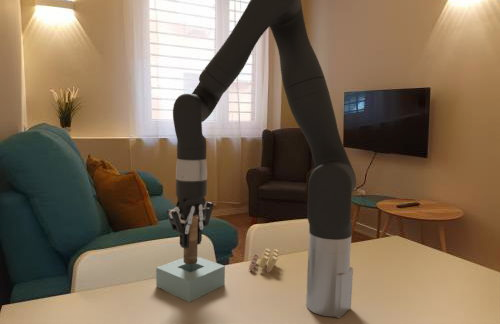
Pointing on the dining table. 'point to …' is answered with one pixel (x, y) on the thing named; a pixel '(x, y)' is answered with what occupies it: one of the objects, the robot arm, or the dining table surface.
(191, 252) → the peg
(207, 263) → the socket block
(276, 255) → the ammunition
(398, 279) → the dining table surface
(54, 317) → the dining table surface
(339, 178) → the robot arm
